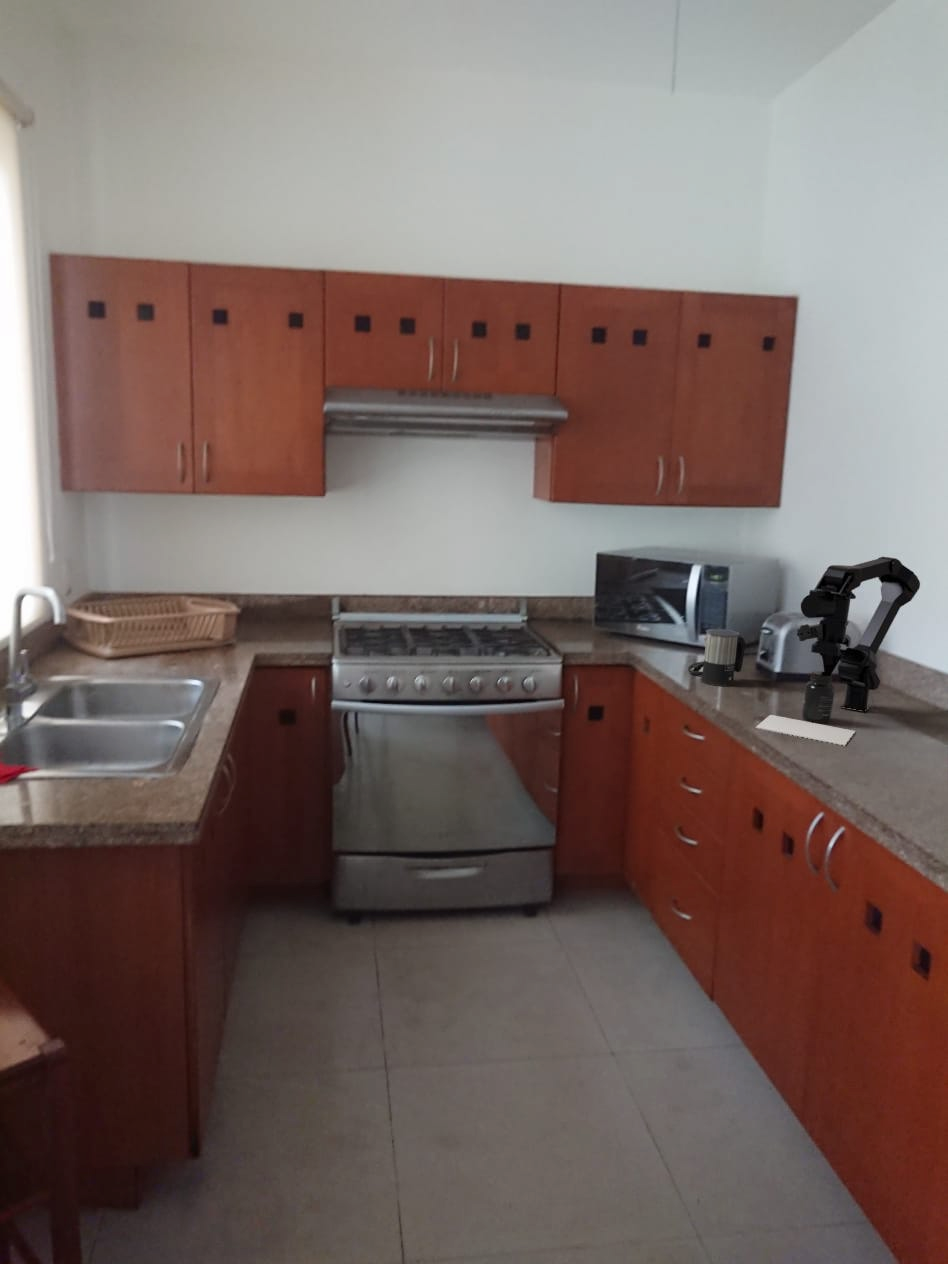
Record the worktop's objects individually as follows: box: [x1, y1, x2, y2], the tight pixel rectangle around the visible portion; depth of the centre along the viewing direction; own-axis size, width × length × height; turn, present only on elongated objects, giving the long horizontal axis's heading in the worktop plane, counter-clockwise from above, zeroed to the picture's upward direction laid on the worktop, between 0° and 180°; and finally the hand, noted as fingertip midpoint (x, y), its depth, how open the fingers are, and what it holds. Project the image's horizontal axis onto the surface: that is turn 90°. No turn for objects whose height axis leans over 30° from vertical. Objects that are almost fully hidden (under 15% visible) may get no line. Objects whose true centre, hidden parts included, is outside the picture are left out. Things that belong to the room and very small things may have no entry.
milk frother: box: [687, 628, 746, 687], centre depth 264 cm, size 14×16×15 cm
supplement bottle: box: [801, 670, 835, 724], centre depth 227 cm, size 7×7×12 cm
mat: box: [755, 714, 856, 747], centre depth 218 cm, size 14×20×1 cm
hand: (827, 676), depth 233 cm, fingers closed
